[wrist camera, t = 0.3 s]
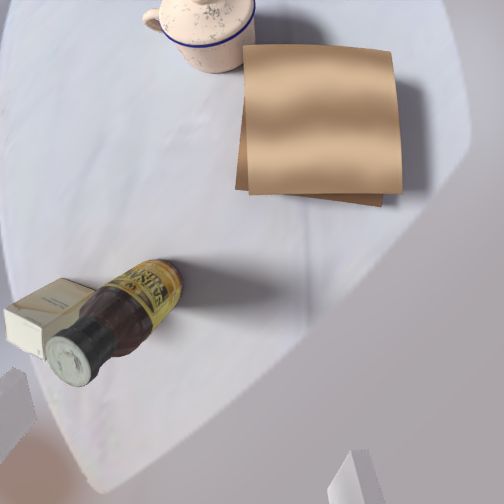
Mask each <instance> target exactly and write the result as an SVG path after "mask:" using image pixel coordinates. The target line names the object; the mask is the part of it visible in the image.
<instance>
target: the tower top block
mask: <svg viewBox="0 0 504 504" xmlns="http://www.w3.org/2000/svg"><path fill="white" fill-rule="evenodd" d="M243 61H244V86H245V110H246V135H247V160H248V184H249V195H272V194H320V193H374V194H402V157H401V138H400V124H399V112H398V102H397V93H396V84H395V77H394V69H393V63H392V56H391V52H389V51H381V50H374V49H365V48H355V47H344V46H330V45H307V44H264V45H243Z"/></svg>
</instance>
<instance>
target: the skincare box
mask: <svg viewBox="0 0 504 504" xmlns="http://www.w3.org/2000/svg"><path fill="white" fill-rule="evenodd" d="M95 292H96V291H94V290H92V289H89V288H87V287H84V286H81V285H79V284H76V283H74V282H71V281H68V280H65V279H63V278H59V279H58V280H56V281H54V282H52V283H50V284H48V285H46V286H44V287H42V288H41V289H39V290H37V291H35V292H33V293H31V294H30V295H28V296H26V297H24V298H22V299H20V300H19V301H17V302H15V303H13V304H12V305H10V306H8V307H6V308H4V322H5V333H6V340H7V341H8V342H9V343H11V344H13V345H14V346H16V347H18V348H20V349H21V350H23V351H25V352H27V353H29V354H31V355H33V356H35V357H37V358H39V359H41V360H42V361H46V360H47V357H46V345H47V342H48V340H49V339H50V338H51V337H52V336H54V335H55V334H56V333H57V332H58V331H60V330H62V329H67V328H69V327H70V326H71V325H73V324H74V323H75V322H76V321H77V320H78V319H79V310H80V308H81V307H82V306H83V305H84V304H85V303H86V302H87V301H88V299H89V298H90V297H91V296H92V295H93V294H94V293H95Z"/></svg>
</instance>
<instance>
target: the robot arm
mask: <svg viewBox="0 0 504 504" xmlns="http://www.w3.org/2000/svg"><path fill="white" fill-rule="evenodd" d="M36 420H37V418H36V414H35V410H34V406H33V402H32V398H31V394H30V390H29V385H28V381H27V376H26V373H24V372H22V371H20V370H18V369H16V368H14V367H13V368H12V369H10V370H9V371H8V372H7V373H6V374H5V375H4V376H2V377H1V378H0V464H1V463H2V462H3V460H4V459H5V458H6V457H7V455H8V454H9V453H10V452H11V450H12V449H13V448H14V447H15V446H16V444H17V443H18V442H19V441H20V440H21V438H22V437H23V436H24V435H25V434H26V432H27V431H28V430H29V429H30V428H31V427H32V425H33V424H34V423H35V422H36ZM327 492H328V498H329V503H330V504H386V503H385V500H384V497H383V494H382V491H381V488H380V485H379V481H378V478H377V475H376V472H375V469H374V466H373V463H372V460H371V457H370V454H369V451H368V450H350V452H349V453H348V455H347V457H346V459H345V460H344V462H343V464H342V466H341V467H340V469H339V471H338V472H337V474H336V476H335V478H334V479H333V481H332V483H331V484H330V486H329V487H328V489H327Z"/></svg>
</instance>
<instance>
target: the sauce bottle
mask: <svg viewBox="0 0 504 504" xmlns="http://www.w3.org/2000/svg"><path fill="white" fill-rule="evenodd" d="M182 290H183V283H182V278H181V276H180V274H179V272H178V271H177V270H176V268H175V267H173V265H172V264H169V263H168V262H167V261H162V260H149V261H145V262H143V263H141V264H139V265H137V266H136V267H134V268H132V269H130V270H129V271H127V272H126V273H124V274H122V275H121V276H119V277H117V278H116V279H114V280H112V281H110V282H109V283H107V284H105V285H104V286H102V287H100V288H99V289H98V290H97V291H96V292H95V293H94V294H93V295H92V296H91V297H90V298H89V299H88V301H87V302H86V303H85V304H84V305H83V306H82V307H81V308H80V310H79V319H78V320H77V321H76V322H75V323H74V324H73V325H71V326H70V327H69V328H67V329H62V330H60V331H58V332H57V333H56V334H55V335H54V336H52V337H51V338H50V339H49V340H48V342H47V345H46V357H47V361H48V363H49V365H50V367H51V369H52V370H53V372H54V373H55V374H56V375H57V376H58V377H59V378H60V379H61V380H62V381H64V382H66V383H67V384H69V385H71V386H74V387H82V386H85V385H87V384H88V383H89V382H91V381H92V380H93V379H94V378H95V377H96V376H97V375H98V372H99V368H100V367H101V366H102V365H103V364H104V363H105V362H106V361H107V360H108V359H110V358H111V357H121V356H125V355H128V354H130V353H131V352H132V351H134V350H135V349H136V348H138V347H139V345H140V344H141V343H142V342H143V341H144V340H146V339H147V338H148V337H149V335H150V334H151V333H152V332H153V331H154V329H155V328H156V327H157V326H158V325H159V324H160V322H161V321H162V320H163V319H164V318H165V317H166V315H167V314H168V313H169V312H170V311H171V310H172V309H173V307H174V306H175V305H176V304H177V302H178V300H179V298H180V296H181V295H182Z"/></svg>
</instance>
